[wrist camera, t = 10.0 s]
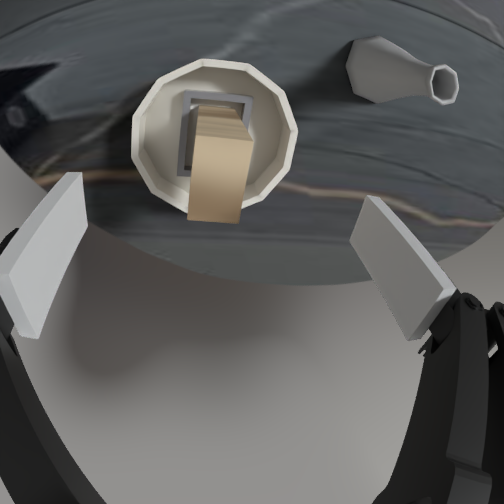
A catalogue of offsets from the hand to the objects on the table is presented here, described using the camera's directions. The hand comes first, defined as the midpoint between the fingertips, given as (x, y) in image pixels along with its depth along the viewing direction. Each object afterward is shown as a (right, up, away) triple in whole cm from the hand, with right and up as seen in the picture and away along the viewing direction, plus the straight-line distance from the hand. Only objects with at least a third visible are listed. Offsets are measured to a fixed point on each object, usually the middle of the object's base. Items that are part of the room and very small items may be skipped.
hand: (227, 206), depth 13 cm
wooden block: (-2, +8, +12) cm, 15 cm away
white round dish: (-2, +9, +12) cm, 15 cm away
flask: (+13, +16, +10) cm, 23 cm away
